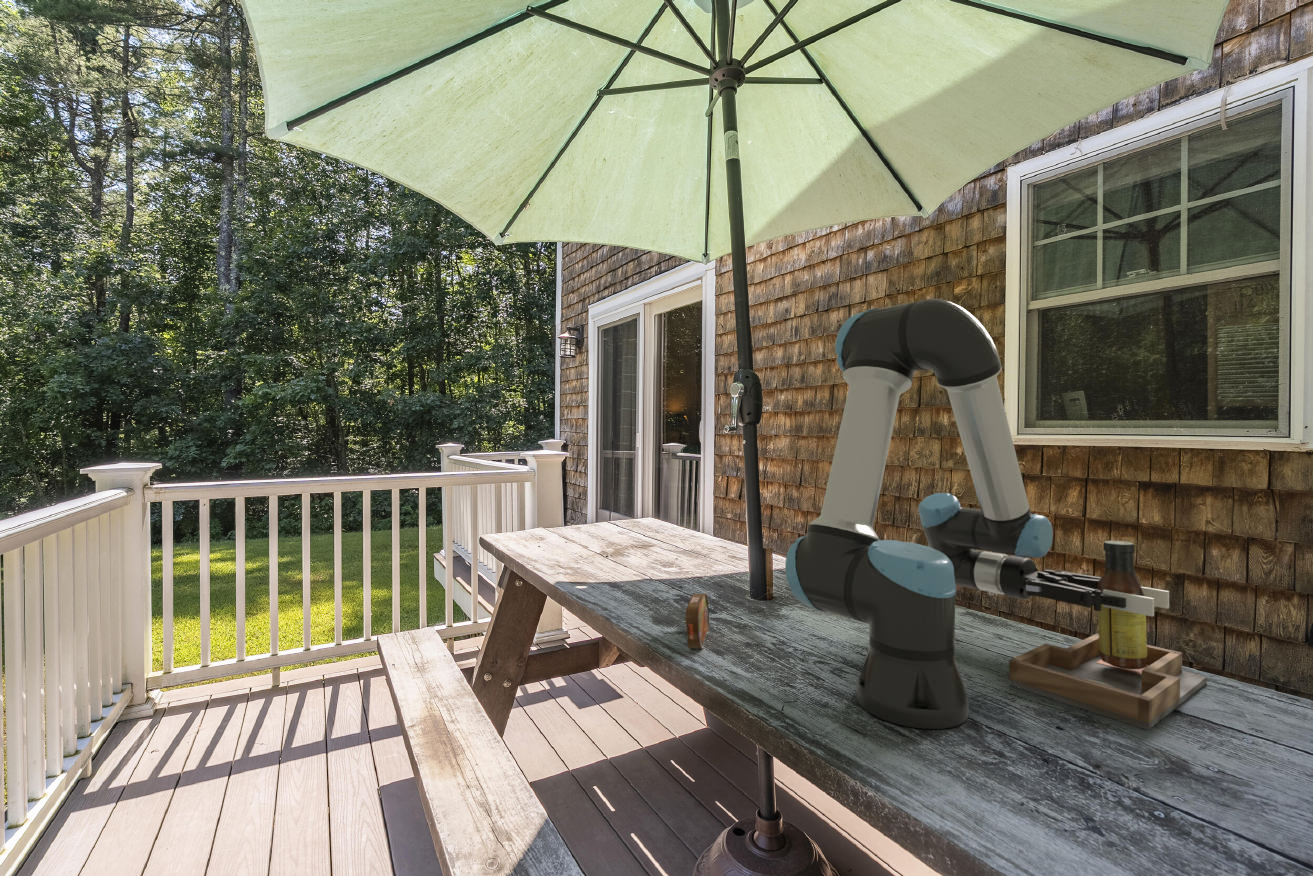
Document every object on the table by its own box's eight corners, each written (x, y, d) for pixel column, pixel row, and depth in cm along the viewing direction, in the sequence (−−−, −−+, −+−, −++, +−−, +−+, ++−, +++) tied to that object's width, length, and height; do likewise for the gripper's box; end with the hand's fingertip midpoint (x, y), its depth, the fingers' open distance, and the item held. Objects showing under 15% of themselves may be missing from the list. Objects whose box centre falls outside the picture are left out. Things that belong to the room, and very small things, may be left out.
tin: (700, 656, 111) (700, 609, 111) (683, 655, 111) (683, 609, 111) (710, 629, 125) (710, 588, 125) (695, 628, 126) (695, 588, 126)
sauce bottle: (1156, 667, 98) (1157, 544, 98) (1131, 673, 96) (1132, 547, 96) (1112, 653, 104) (1113, 537, 104) (1088, 659, 102) (1089, 540, 102)
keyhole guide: (1148, 730, 82) (1148, 700, 82) (1008, 685, 97) (1009, 660, 97) (1206, 683, 97) (1206, 658, 97) (1077, 650, 112) (1077, 628, 112)
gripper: (1030, 587, 120) (1180, 616, 102) (981, 603, 109) (1138, 639, 90) (1030, 549, 120) (1180, 571, 101) (981, 562, 109) (1139, 589, 90)
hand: (1160, 603), depth 96 cm, fingers closed on sauce bottle, 6 cm apart
